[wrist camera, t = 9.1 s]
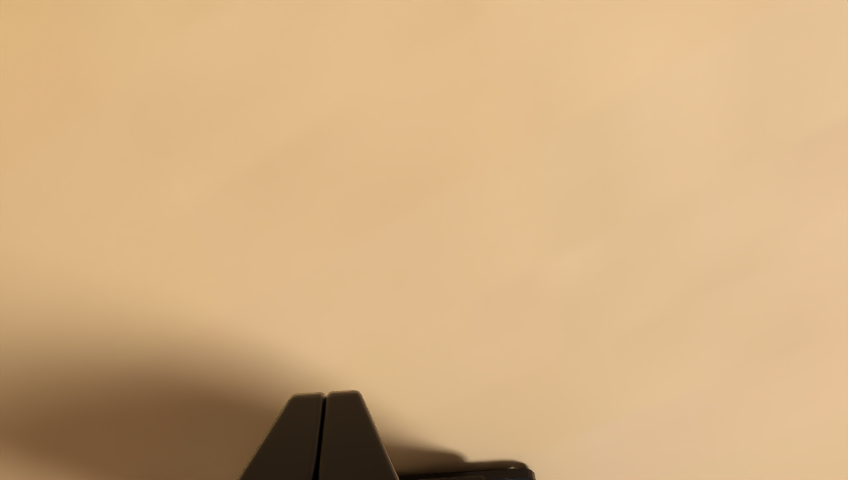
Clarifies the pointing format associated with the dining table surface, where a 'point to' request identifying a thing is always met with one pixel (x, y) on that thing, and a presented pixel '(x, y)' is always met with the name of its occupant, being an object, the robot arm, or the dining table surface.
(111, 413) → the dining table surface
